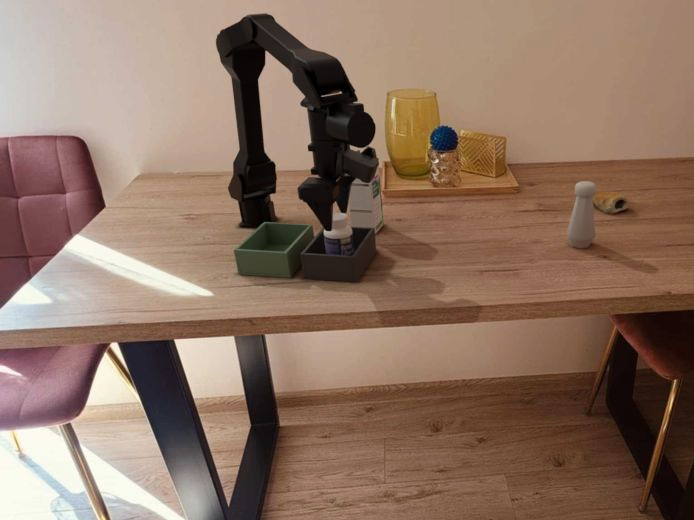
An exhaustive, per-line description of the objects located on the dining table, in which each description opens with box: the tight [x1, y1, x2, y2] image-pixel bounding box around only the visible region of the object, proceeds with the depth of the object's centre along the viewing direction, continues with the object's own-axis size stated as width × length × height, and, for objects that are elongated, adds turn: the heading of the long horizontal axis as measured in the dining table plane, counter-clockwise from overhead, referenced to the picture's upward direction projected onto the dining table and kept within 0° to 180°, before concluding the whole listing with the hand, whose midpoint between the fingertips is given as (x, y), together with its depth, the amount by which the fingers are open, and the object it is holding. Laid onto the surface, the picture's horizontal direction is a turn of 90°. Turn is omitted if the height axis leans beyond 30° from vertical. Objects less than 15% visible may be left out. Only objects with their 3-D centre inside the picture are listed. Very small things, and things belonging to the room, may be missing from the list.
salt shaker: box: [566, 180, 598, 249], centre depth 129 cm, size 6×6×13 cm
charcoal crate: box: [300, 226, 377, 283], centre depth 123 cm, size 10×14×5 cm
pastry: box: [593, 191, 630, 215], centre depth 151 cm, size 9×7×4 cm
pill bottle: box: [324, 212, 355, 256], centre depth 122 cm, size 5×5×10 cm
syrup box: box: [347, 164, 385, 235], centre depth 136 cm, size 6×6×14 cm
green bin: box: [233, 221, 315, 279], centre depth 125 cm, size 10×14×5 cm
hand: (336, 221), depth 120 cm, fingers open, 9 cm apart
